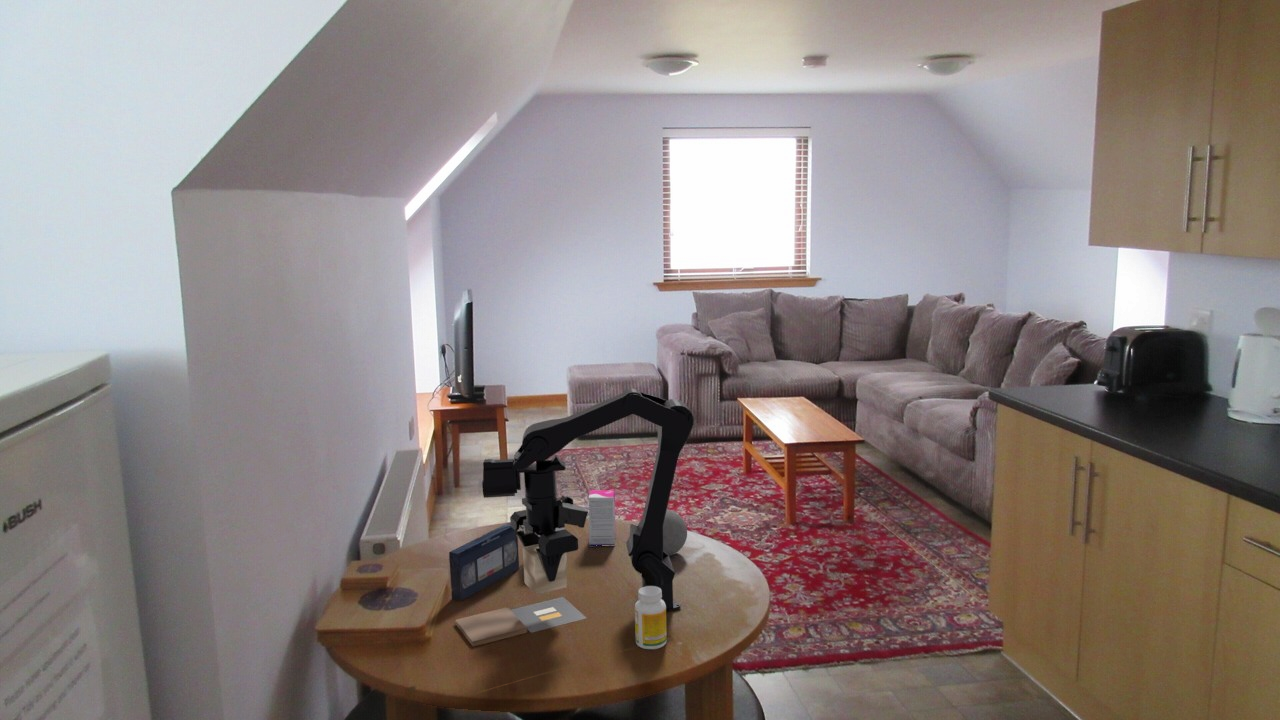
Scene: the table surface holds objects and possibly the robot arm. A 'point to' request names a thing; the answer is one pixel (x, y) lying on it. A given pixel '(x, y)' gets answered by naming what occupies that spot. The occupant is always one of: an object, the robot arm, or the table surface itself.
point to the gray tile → (547, 614)
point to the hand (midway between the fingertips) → (545, 575)
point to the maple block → (541, 572)
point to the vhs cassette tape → (483, 561)
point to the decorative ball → (673, 532)
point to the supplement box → (601, 517)
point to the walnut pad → (490, 626)
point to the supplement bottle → (650, 618)
